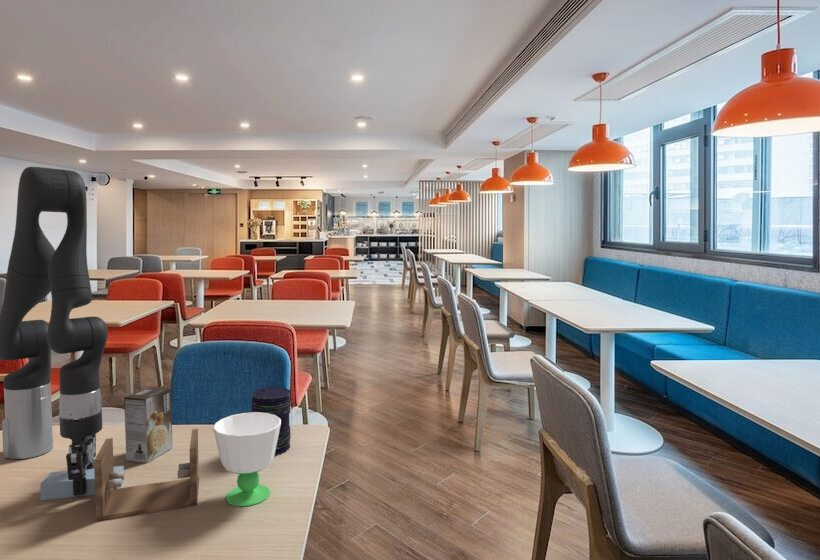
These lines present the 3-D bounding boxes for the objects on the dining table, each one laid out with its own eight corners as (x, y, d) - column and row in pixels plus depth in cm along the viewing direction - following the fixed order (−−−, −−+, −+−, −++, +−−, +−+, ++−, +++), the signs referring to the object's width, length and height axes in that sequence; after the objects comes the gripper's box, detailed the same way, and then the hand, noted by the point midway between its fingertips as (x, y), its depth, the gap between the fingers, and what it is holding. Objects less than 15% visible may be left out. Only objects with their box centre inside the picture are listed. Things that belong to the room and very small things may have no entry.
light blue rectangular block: (40, 500, 102) (40, 483, 102) (51, 488, 107) (50, 472, 107) (117, 492, 106) (116, 476, 105) (123, 480, 111) (123, 465, 110)
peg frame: (95, 521, 95) (93, 460, 94) (107, 493, 105) (105, 438, 104) (197, 504, 101) (196, 448, 100) (199, 480, 111) (198, 428, 111)
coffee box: (151, 445, 129) (150, 385, 128) (173, 448, 128) (172, 387, 127) (124, 460, 120) (123, 396, 119) (147, 463, 119) (146, 398, 118)
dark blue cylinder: (298, 446, 131) (298, 391, 130) (269, 460, 122) (269, 401, 121) (272, 437, 136) (272, 384, 135) (243, 450, 128) (242, 393, 127)
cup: (293, 486, 110) (293, 416, 108) (255, 518, 97) (255, 440, 95) (242, 475, 114) (241, 408, 113) (199, 505, 101) (198, 430, 100)
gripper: (69, 402, 110) (72, 475, 111) (49, 425, 97) (52, 508, 98) (108, 399, 113) (110, 470, 114) (93, 420, 100) (96, 501, 101)
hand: (83, 487), depth 106 cm, fingers closed on light blue rectangular block, 5 cm apart
